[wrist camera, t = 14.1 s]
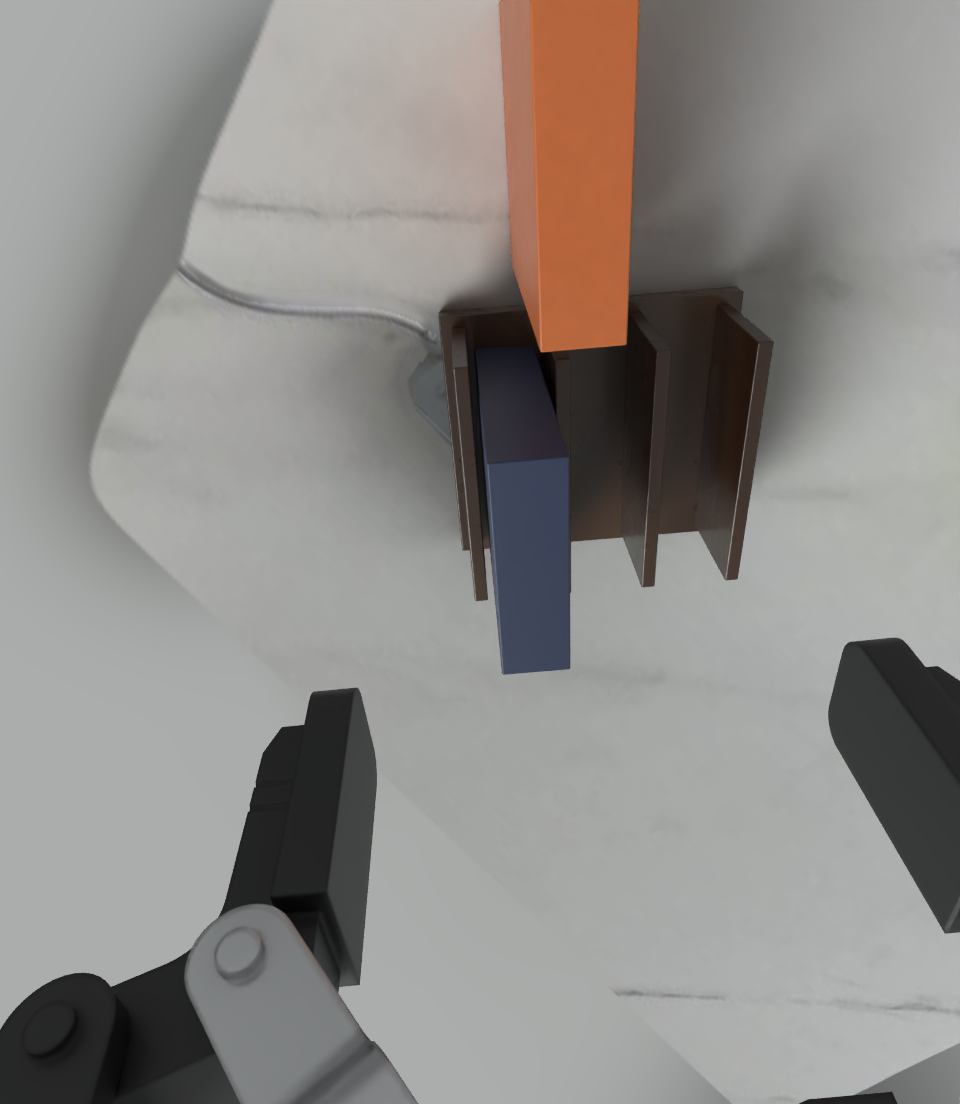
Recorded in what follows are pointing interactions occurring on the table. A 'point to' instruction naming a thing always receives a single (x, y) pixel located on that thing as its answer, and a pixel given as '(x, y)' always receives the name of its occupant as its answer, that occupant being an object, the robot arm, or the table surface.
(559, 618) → the navy book
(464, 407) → the book rack
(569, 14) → the orange book
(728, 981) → the table surface
